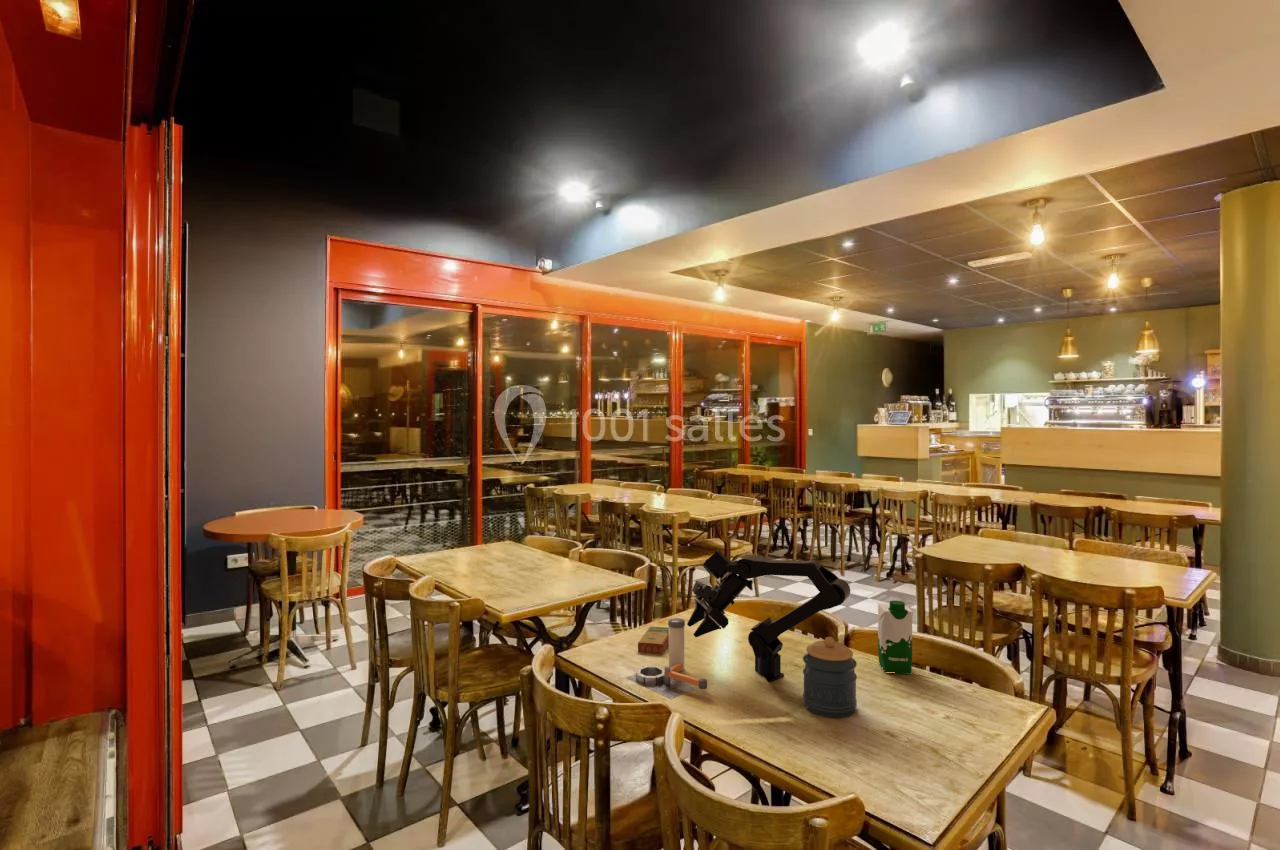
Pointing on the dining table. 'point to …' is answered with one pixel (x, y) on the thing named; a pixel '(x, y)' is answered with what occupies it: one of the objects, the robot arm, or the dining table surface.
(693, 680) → the clip
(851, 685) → the canister
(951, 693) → the dining table surface
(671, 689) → the socket plate
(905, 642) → the milk carton
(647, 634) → the carton
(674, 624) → the plug
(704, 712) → the dining table surface
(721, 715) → the dining table surface
